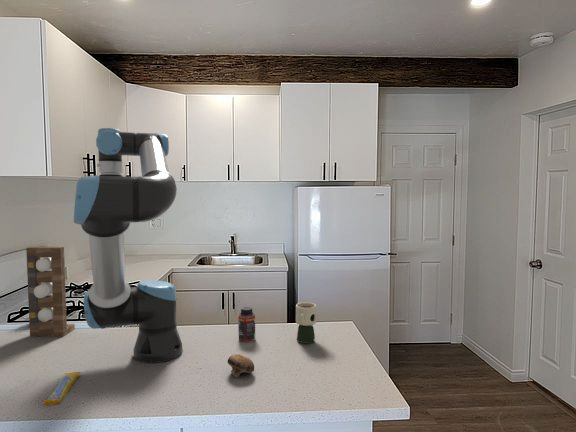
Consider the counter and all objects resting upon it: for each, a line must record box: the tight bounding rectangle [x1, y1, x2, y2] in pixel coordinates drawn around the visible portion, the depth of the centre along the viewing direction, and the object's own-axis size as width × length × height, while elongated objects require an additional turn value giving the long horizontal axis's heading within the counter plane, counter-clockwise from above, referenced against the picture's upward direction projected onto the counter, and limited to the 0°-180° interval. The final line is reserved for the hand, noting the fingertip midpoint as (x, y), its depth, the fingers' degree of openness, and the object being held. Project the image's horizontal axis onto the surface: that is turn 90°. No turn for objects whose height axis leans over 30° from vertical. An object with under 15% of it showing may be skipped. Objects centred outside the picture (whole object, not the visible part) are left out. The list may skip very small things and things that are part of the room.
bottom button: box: [38, 308, 53, 322], centre depth 152 cm, size 6×4×4 cm
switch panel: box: [25, 246, 76, 338], centre depth 153 cm, size 9×12×32 cm
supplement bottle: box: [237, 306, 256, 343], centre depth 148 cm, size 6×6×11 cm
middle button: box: [34, 283, 52, 298], centre depth 150 cm, size 6×4×4 cm
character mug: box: [295, 302, 317, 344], centre depth 147 cm, size 11×7×13 cm, turn 162°
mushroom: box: [227, 353, 255, 379], centre depth 121 cm, size 8×8×6 cm
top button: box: [36, 257, 52, 272], centre depth 151 cm, size 6×4×4 cm
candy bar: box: [43, 371, 82, 407], centre depth 112 cm, size 17×4×2 cm, turn 10°
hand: (112, 241), depth 148 cm, fingers closed
